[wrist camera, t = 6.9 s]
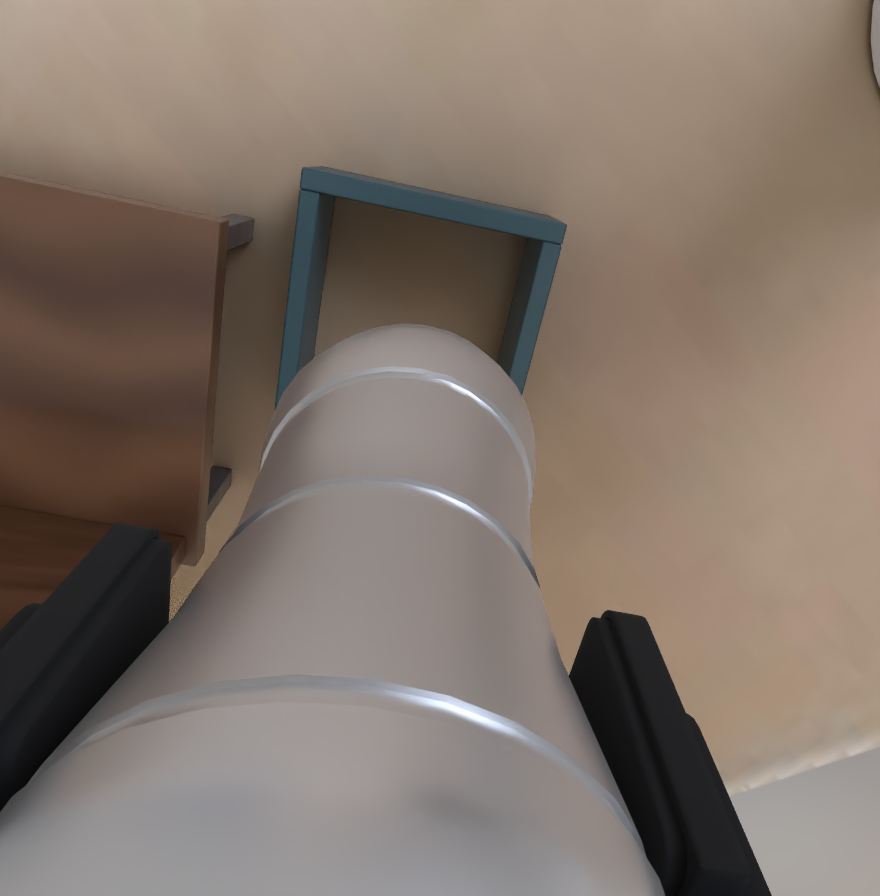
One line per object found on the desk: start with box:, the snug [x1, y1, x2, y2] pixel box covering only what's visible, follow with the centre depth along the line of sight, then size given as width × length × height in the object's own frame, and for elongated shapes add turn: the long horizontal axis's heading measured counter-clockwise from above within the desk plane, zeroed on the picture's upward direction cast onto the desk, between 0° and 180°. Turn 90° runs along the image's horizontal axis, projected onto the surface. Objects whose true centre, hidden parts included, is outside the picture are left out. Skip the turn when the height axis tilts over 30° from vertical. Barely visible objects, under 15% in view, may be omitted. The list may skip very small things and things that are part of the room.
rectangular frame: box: [275, 166, 567, 409], centre depth 30 cm, size 12×11×4 cm
